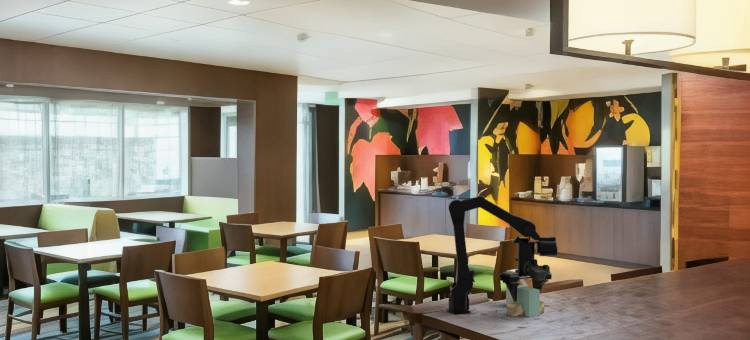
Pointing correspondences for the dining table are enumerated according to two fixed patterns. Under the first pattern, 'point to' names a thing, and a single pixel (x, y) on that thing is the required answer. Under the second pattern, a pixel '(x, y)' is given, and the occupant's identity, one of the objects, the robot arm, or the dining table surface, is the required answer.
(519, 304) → the maple rail
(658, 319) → the dining table surface
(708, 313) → the dining table surface
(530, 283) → the small box
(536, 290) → the teal block
